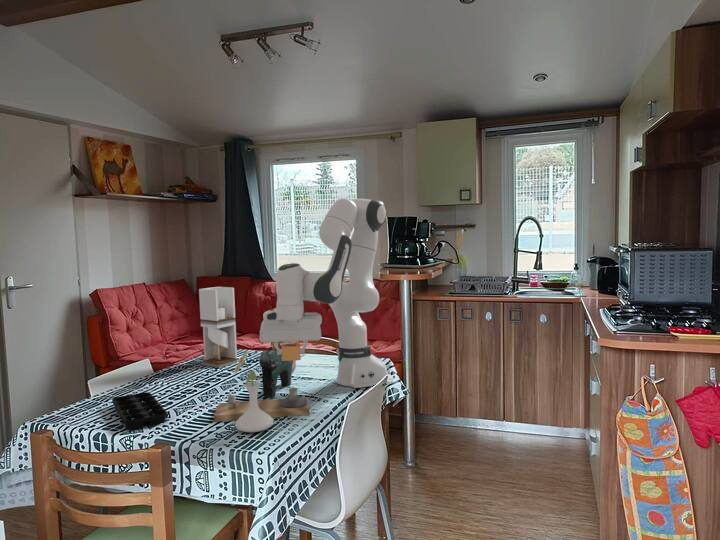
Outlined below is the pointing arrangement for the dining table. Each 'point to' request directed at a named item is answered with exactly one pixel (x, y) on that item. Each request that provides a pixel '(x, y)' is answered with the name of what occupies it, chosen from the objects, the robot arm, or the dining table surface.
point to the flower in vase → (252, 405)
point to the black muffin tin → (139, 410)
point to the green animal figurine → (274, 371)
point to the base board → (264, 407)
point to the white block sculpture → (218, 326)
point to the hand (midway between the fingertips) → (291, 354)
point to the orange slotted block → (290, 351)
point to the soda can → (291, 360)
